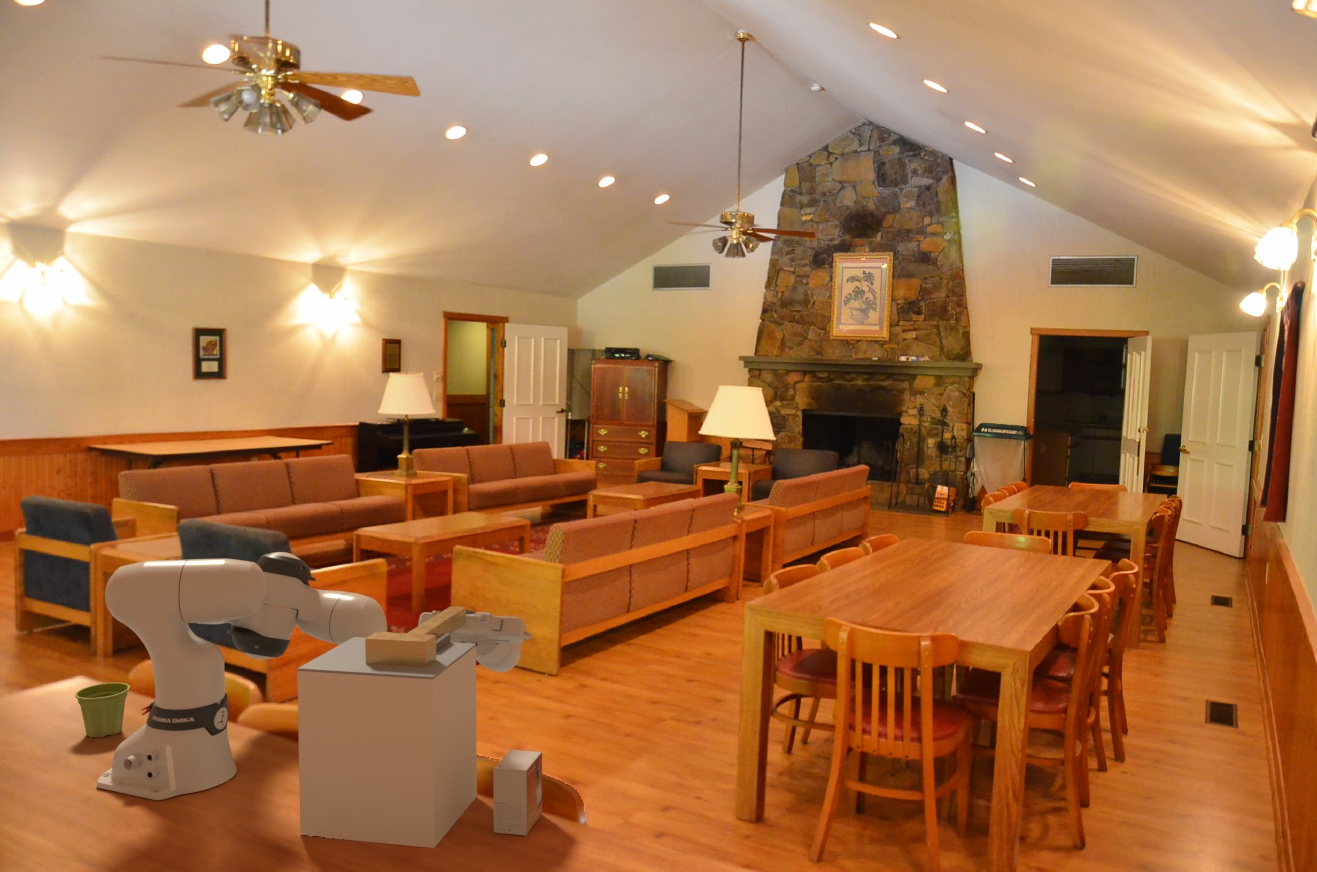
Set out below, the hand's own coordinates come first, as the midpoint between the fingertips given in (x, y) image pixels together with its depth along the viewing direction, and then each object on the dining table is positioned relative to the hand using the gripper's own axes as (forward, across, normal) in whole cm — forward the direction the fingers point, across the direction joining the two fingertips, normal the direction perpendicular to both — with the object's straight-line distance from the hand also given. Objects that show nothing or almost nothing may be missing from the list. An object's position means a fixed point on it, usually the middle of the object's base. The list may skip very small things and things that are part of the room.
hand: (459, 616), depth 174 cm
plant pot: (-15, +75, -23) cm, 80 cm away
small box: (+4, -18, -34) cm, 39 cm away
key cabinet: (+5, +3, -35) cm, 35 cm away
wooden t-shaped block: (+11, 0, -8) cm, 13 cm away
